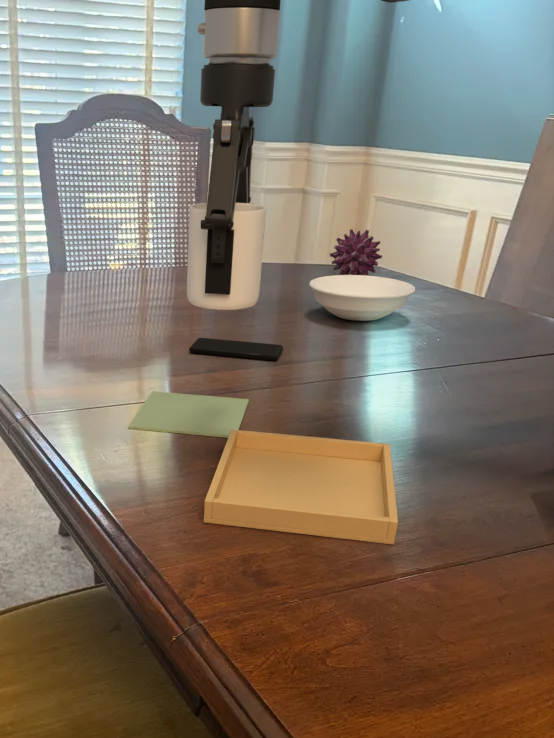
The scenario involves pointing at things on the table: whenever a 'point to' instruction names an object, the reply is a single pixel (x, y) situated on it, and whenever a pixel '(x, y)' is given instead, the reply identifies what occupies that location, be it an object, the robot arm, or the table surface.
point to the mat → (190, 414)
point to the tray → (305, 486)
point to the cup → (243, 263)
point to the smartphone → (236, 348)
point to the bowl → (360, 295)
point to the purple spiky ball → (356, 254)
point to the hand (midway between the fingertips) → (225, 281)
